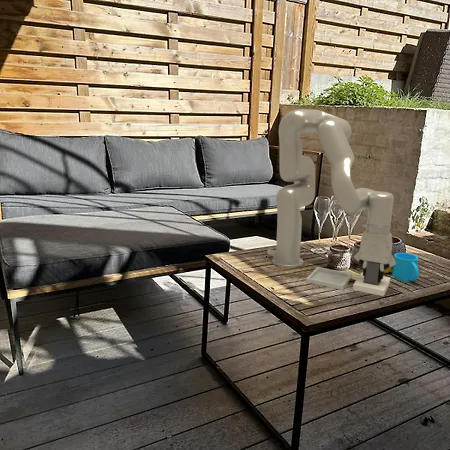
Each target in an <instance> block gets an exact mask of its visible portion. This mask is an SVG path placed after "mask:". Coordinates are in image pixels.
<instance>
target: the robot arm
mask: <svg viewBox="0 0 450 450" xmlns="http://www.w3.org/2000/svg"><path fill="white" fill-rule="evenodd" d="M311 133H312V134H316V135H317V137H318V140H319V142H320V145H321V147H322V149H323V152H324V154H325V156H326V158H327V161H328V163H329V165H330V170H331V171H330V183H331V189H332V192H333V195H334V196H335V199H336V201H337V203H338V205H339V206H340V208H341V210H343V211H344V212H345V213H348V214H355V213H359V212H362V211H366V210H367V220H366V223H365V222H362V225H361V227H362V228H365V229H364V230H363V232H362V235H361V239H360V244H359V250H358V251H357V252H356V253H355V255H354V256H353V258H354V260H356V261H358V262H359V264H360V265H361V266H362V268H363V270H362V271H363V276H364V279H365V276H366V267H367V261H369V262H375V263H380V270H379V275H378V282H380V280H381V279H383V276H384V275H385V273H384V270H386V269H387V268H389V267H391V266H394V265H395V264H396V261H395V259H394V255H393V253H392V252H393V235H392V233H391V232H390V231H391V226H392V225H391V223H392V215H393V210H394V209H393V208H394V200H395V199H394V195H393V193H392V192H388V191H382V190H381V191H377V190H373V189H371V188H368V187H359V188H355V185H354V184H353V181H352V177H351V169H352V165H353V163H354V161H355V154H354V153H353V152H354V151H353V150H352V147H351V145H350V144H349V142H348V140H349V139H350V138H351V136H352V133H353V132H352V127H351V124H350V123H349V121H347V120H346V119H344V118H341V117H339V116H336V115H334V114H330V113H327V112H325V111H322V110H320V109H307V108H305V109H304V108H303V109H302V108H301V109H295V110H291V111H289V112H288V113H286V114H284V116H283V117H282V118H281V120H280V122H279V125H278V138H279V139H278V140H279V175H280V178H281V179H282V181H284V182H287V183H292V182H293V184H289V185H285V186H283V187H281V188H280V189H279V190H278V191H277V193H276V195H275V203H276V210H277V211H276V212H277V218H276V219H277V220H276V221H277V222H276V223H277V224H276V225H277V227H276V246H275V249H272V248H271V249H270V248H268V249H267V252H266V253H267V256H272V258H271V263H272V264H273V265H275V266H277V267H280V268H281V267H285V268H296V267H300V266H302V265H304V260H303V258H301V257H300V256H301V245H302V244H301V243H302V242H301V241H302V227H303V226H302V225H303V224H302V223H303V217H302V213H301V211H300V209H301V208H303V207H306V206H307V207H308V206H309V205H310V204H311V205H312V203H313V201H314V199H315V195H316V166H315V163H314V161H313V159H312V158H311V157H310V156H308V155H303V142H302V139H301V137H300V135H302V134H311Z"/></svg>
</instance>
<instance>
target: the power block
mask: <svg viewBox="0 0 450 450" xmlns="http://www.w3.org/2000/svg"><path fill="white" fill-rule="evenodd" d="M391 280H392V279H391V277H387V276H384V275H383V279H381V280H380V282H379V283H378V285H372V284H367V283H365V279H364V276H363V272H361V273H360V274H359V276H358V277H357V279H356V280H355V281H354V283H353V286H352V290H353V291H356V292H357V291H358V292H362V293H365V294H370V295H376V296H381V297H384V296H385V294H386V293H387V290H388V288H389V286H390V283H391Z"/></svg>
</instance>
